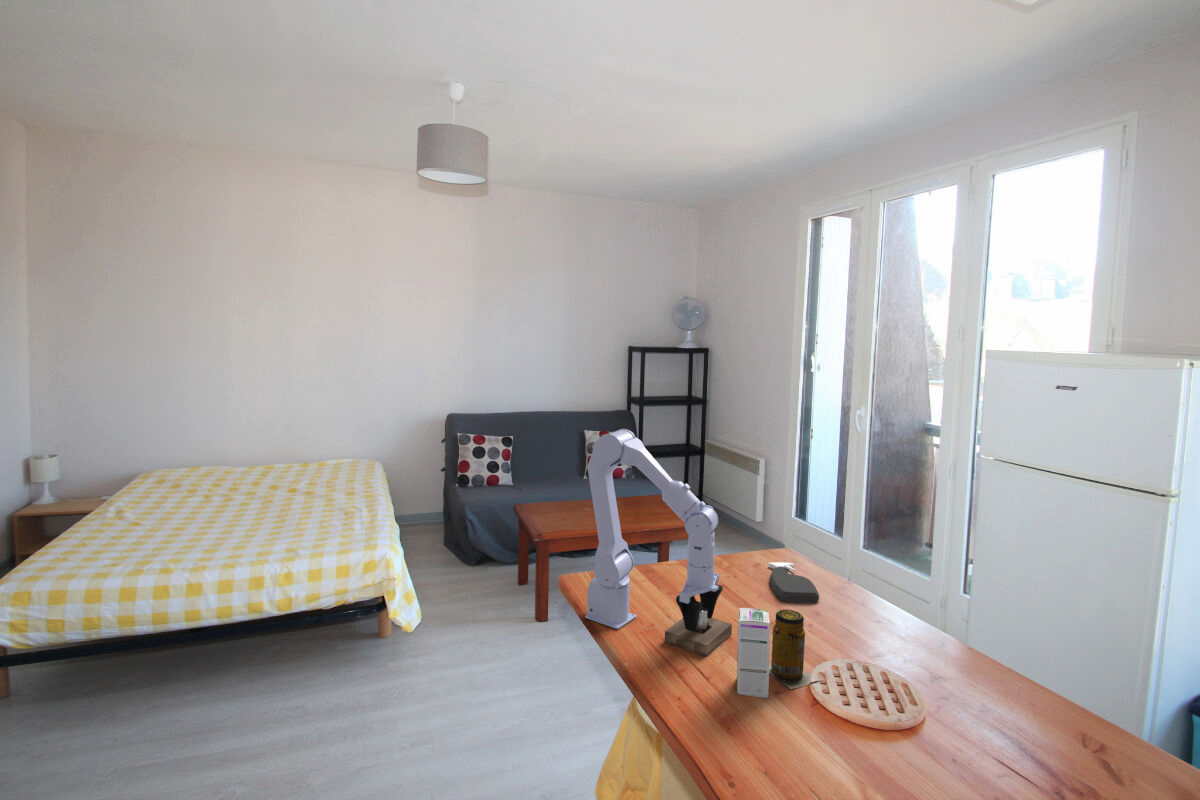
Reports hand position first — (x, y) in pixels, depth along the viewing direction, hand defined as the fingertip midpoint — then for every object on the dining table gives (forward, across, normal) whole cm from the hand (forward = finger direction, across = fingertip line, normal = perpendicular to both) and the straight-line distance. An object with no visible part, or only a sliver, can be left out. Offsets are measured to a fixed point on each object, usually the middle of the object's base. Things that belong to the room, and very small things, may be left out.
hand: (698, 623), depth 135 cm
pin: (+3, 0, 0) cm, 3 cm away
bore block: (+3, 0, 0) cm, 3 cm away
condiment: (+4, -2, -21) cm, 21 cm away
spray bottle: (+4, +42, -5) cm, 43 cm away
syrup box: (+4, -11, -17) cm, 21 cm away
